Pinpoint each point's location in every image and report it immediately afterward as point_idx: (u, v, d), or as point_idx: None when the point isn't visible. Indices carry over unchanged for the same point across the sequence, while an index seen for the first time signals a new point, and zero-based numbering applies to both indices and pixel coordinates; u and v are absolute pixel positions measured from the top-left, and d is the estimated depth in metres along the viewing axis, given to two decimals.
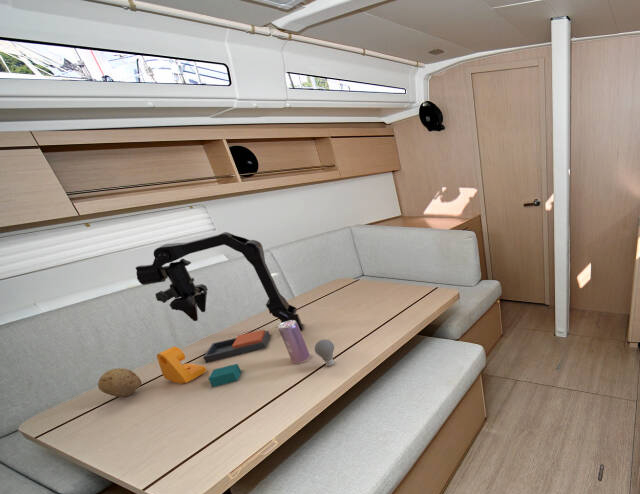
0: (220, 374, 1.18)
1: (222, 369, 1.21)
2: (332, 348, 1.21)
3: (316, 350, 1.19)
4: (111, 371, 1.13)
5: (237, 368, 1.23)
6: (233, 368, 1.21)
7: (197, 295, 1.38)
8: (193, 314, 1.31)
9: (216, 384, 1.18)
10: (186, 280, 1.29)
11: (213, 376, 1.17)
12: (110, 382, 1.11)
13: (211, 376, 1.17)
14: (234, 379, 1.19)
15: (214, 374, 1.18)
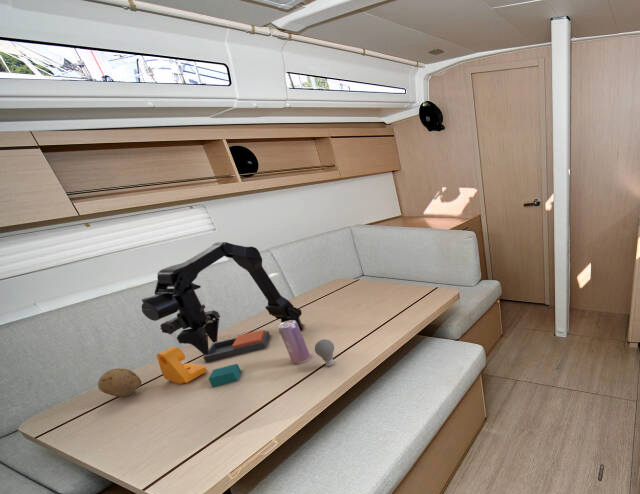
0: (220, 374, 1.18)
1: (222, 369, 1.21)
2: (332, 348, 1.21)
3: (316, 350, 1.19)
4: (111, 371, 1.13)
5: (237, 368, 1.23)
6: (233, 368, 1.21)
7: (208, 323, 1.20)
8: (204, 347, 1.13)
9: (216, 384, 1.18)
10: (196, 308, 1.11)
11: (213, 376, 1.17)
12: (110, 382, 1.11)
13: (211, 376, 1.17)
14: (234, 379, 1.19)
15: (214, 374, 1.18)
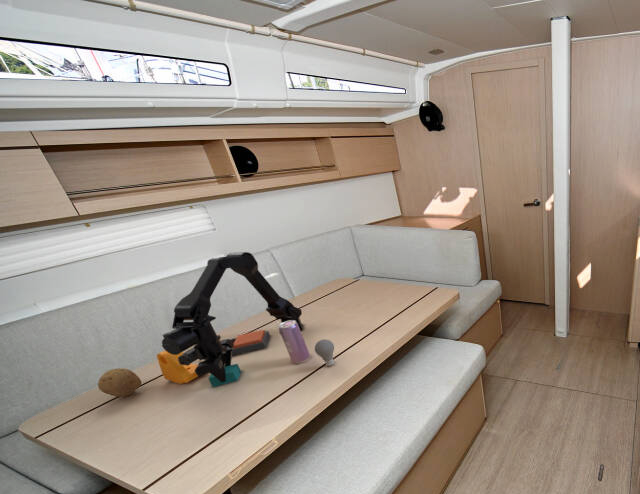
0: None
1: None
2: (332, 348, 1.21)
3: (316, 350, 1.19)
4: (111, 371, 1.13)
5: (237, 368, 1.23)
6: (233, 368, 1.21)
7: (222, 354, 1.21)
8: (222, 375, 1.16)
9: (216, 384, 1.18)
10: (212, 340, 1.13)
11: (213, 376, 1.17)
12: (110, 382, 1.11)
13: (211, 376, 1.17)
14: (234, 379, 1.19)
15: None
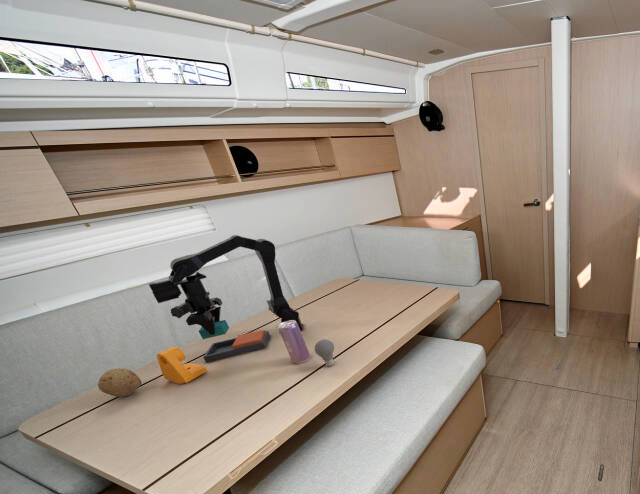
0: None
1: None
2: (332, 348, 1.21)
3: (316, 350, 1.19)
4: (111, 371, 1.13)
5: (225, 323, 1.34)
6: (221, 323, 1.32)
7: (211, 310, 1.32)
8: (211, 327, 1.27)
9: (206, 337, 1.29)
10: (202, 294, 1.24)
11: (203, 329, 1.28)
12: (110, 382, 1.11)
13: (201, 329, 1.28)
14: (222, 332, 1.30)
15: None
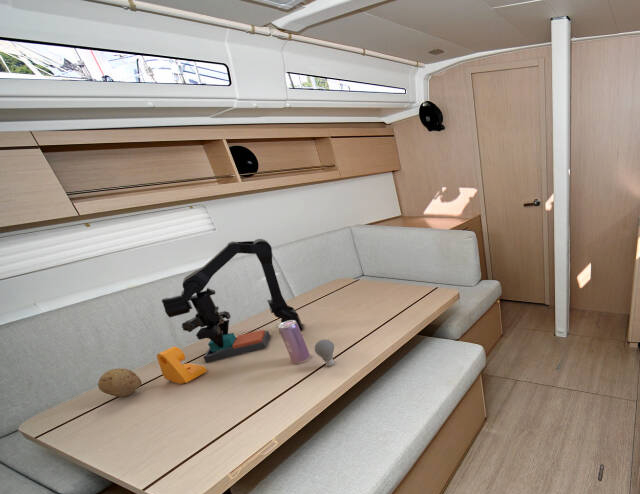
0: None
1: None
2: (332, 348, 1.21)
3: (316, 350, 1.19)
4: (111, 371, 1.13)
5: (233, 336, 1.40)
6: (229, 336, 1.38)
7: (220, 324, 1.38)
8: (219, 341, 1.33)
9: (214, 349, 1.35)
10: (211, 309, 1.30)
11: (212, 342, 1.34)
12: (110, 382, 1.11)
13: (210, 342, 1.34)
14: (230, 345, 1.36)
15: None
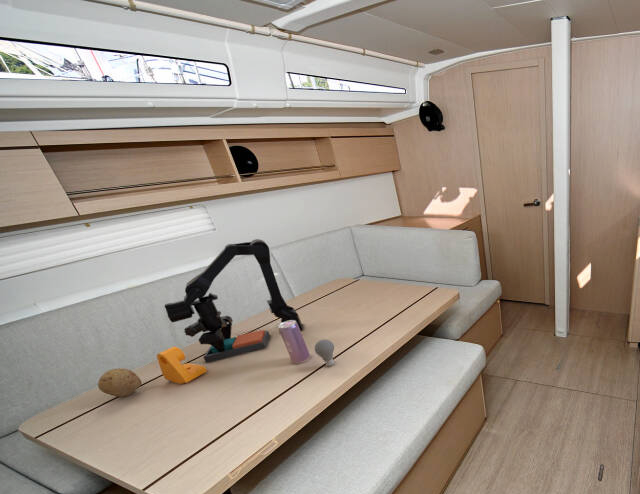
0: None
1: None
2: (332, 348, 1.21)
3: (316, 350, 1.19)
4: (111, 371, 1.13)
5: None
6: (232, 340, 1.38)
7: (223, 327, 1.40)
8: (221, 347, 1.33)
9: None
10: (214, 314, 1.31)
11: None
12: (110, 382, 1.11)
13: (212, 346, 1.35)
14: None
15: None
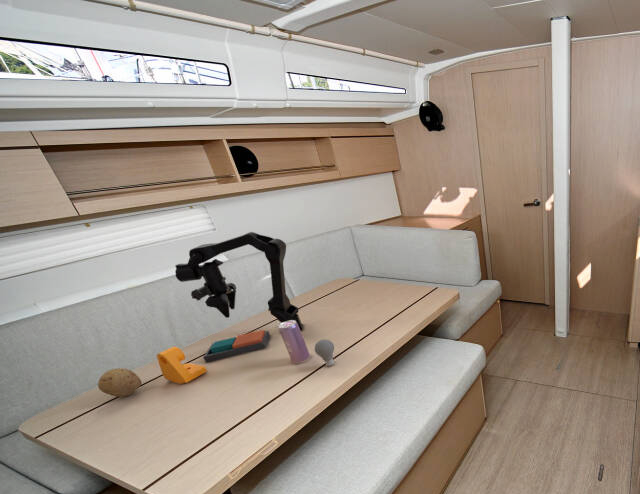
0: (220, 345, 1.36)
1: (222, 341, 1.39)
2: (332, 348, 1.21)
3: (316, 350, 1.19)
4: (111, 371, 1.13)
5: None
6: (232, 340, 1.38)
7: (227, 293, 1.45)
8: (226, 311, 1.38)
9: None
10: (219, 279, 1.37)
11: (214, 346, 1.35)
12: (110, 382, 1.11)
13: (212, 346, 1.35)
14: None
15: (215, 345, 1.36)
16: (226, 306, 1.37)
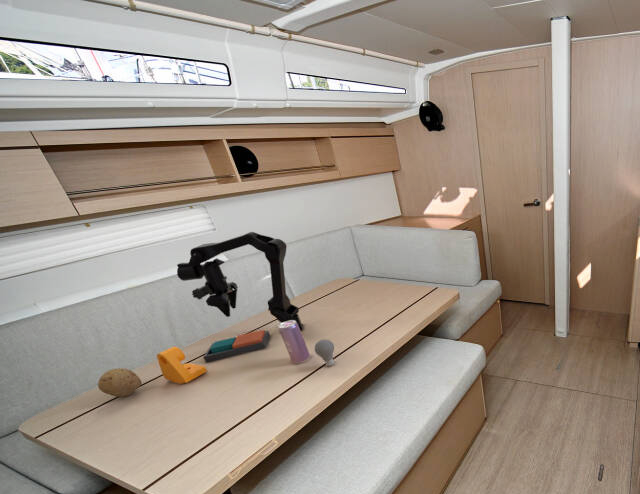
0: (220, 345, 1.36)
1: (222, 341, 1.39)
2: (332, 348, 1.21)
3: (316, 350, 1.19)
4: (111, 371, 1.13)
5: None
6: (232, 340, 1.38)
7: (228, 292, 1.46)
8: (227, 310, 1.39)
9: None
10: (220, 278, 1.37)
11: (214, 346, 1.35)
12: (110, 382, 1.11)
13: (212, 346, 1.35)
14: None
15: (215, 345, 1.36)
16: (227, 305, 1.38)
